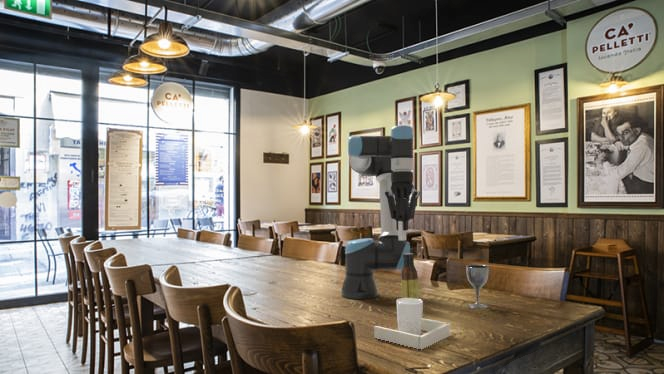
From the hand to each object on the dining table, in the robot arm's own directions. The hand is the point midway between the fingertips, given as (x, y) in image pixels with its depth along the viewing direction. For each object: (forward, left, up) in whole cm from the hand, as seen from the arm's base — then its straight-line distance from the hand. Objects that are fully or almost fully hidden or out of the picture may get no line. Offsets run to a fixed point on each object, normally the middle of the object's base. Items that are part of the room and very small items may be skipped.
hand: (402, 240), depth 153 cm
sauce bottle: (-6, +15, -27) cm, 31 cm away
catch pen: (+13, -16, -26) cm, 34 cm away
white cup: (+11, -14, -27) cm, 32 cm away
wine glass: (+13, +32, -27) cm, 44 cm away
